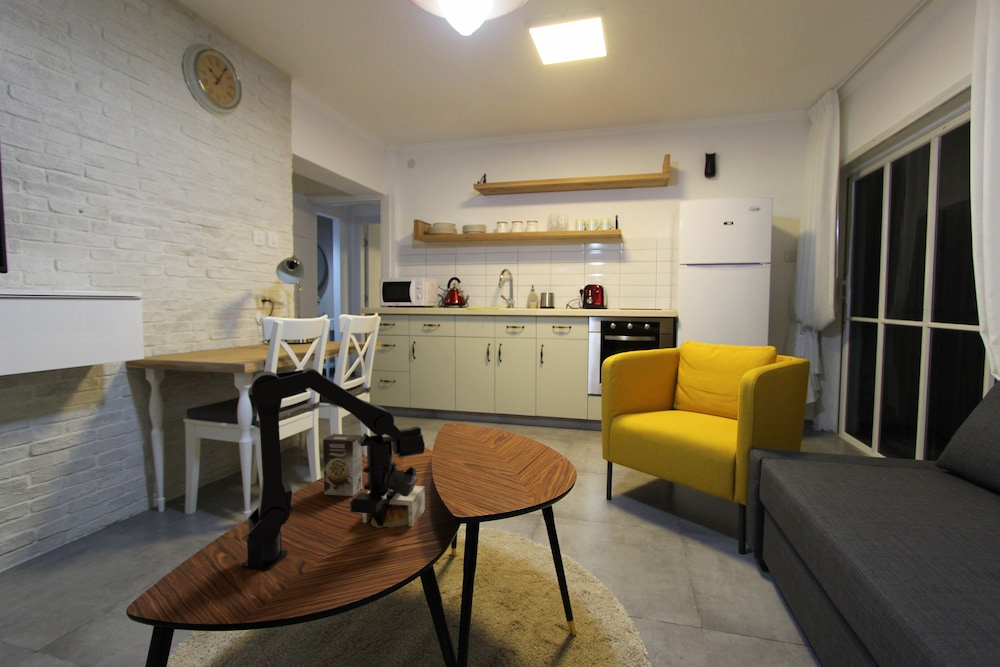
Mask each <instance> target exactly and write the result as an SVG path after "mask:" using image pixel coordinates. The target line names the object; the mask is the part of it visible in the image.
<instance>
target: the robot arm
mask: <svg viewBox="0 0 1000 667" xmlns="http://www.w3.org/2000/svg"><path fill="white" fill-rule="evenodd" d="M250 386H251V387H250V388H251V394H252V398H253V400H254V402H253V403H254V406H255V408H256V409H255V410H256V412H257V415H258V420H259V421H258V423H259V437H260V438H259V439H260V454H261V455H260V456H261V457H260V458H261V473H262V474H261V475H262V480H261V486H260V490H259V499H258V506H257V508H255V509H254V511H253V512H252V513H251V514H250V515H249V516H248V517H247V537H246V552H247V554H246V555H247V559H246V560H245V561H243V562H242V563H241V564H240V567H241V568H246V569H247V568H248V569H257V570H270V569H271V568H273V566H275V565H276V564H277V563H279V562H280V560H282V559H283V558H284V557H285V556H287V555H288V553H289V552H288V550H283V548H282V546H283V544H282V530H281V528H282V526H284V525H285V524H286V523H287V521H288V520H289V519H290V515H291V512H292V511H294V507H293V506H294V505H293V501H292V498H293V497H292V496H293V490H292V485H291V482H290V481H287V482H285V483H284V482H283V474H282V471H283V470H282V458H281V457H282V455H281V441H280V440H281V439H280V438H281V437H280V422H279V421H280V419H279V418H280V412H281V408H282V401H283V396H286V395H291V394H293V393H296V392H300V391H303V390H309V389H310V390H312V391H314V392H315V393H317V394H318V395H321V396H322V397H324V398H325V399H327V400H329V402H331V403H333V404H335V405H336V406H339V407H340V408H342V409H344V410H345V411H347V412H348V413H350V414H352V415H353V416H354V417H355V419H357V420H358V421H359V422H361V423H362V424H363V425H364V426H365V427H366V428H367V429H368V430H370V431H371V432H372V434H374V435H368V434H367V432H365V433H363V435H362V437H361V438H360V439H359V440H358V443H359V444H360V445H361V446H362V447H366V466H365V467H363V473H366V474H367V478H366V479H367V482H366V483H365V484H364V485H363V489H364V490H367V491H368V492H369V491H370V492H369V493H368V492H359V494H357V495H356V496H355V497H354V498H353V499H352V500H351V501H350V502H349V511H350V513H356V514H357V513H360V514H362V513H370V514H372V516H373V517H374V519H375V521H376V523H377V524H378V526H383V525H384V522H385V518H386V514H387V510H388V506H389V503H390V500H391V499H392V498H393V497H394V496H395V495H396V494H397V493H399V494H401V495H402V496H405V497H406V496H408V495H409V494H410V493H411V492H412V491H413V488H414V486H416V483H417V482H418V475H417V471H416V468H415V467H413V466H409V467H408V468H407V469H406V470H404V469H402V470H399V469H398V468H397V464H396V462H394V461H393V454H394V455H397V457H398V458H399V459H403V458H408V457H414V456H419V455H420V456H421V455H423V454H424V453H425V448H426V446H425V445H426V444H425V441H424V436H423V434H422V428H420V426H412V427H409V428H408V427H407V428H403V429H400V428H398V427H397V426H396V425H395V418H394V416H393V414H392V413H391V412H389V411H388V410H387V409H385V408H384V407H382V406H380V405H377V404H375V403H372V402H370V401H366V400H363V399H362V398H359V397H357V396H356V395H355V394H353V393H351V392H349V391H348V390H346V389H344V387H341V386H340V385H338V384H337V383H335V382H334V381H332V380H330V379H329V378H327V377H325V376H324V375H322V374H321V373H320V372H319V371H318V370H317V369H315V368H313V367H307V368H304V369H299V370H290V371H284V372H282V371H281V372H277V373H275V372H272V371H269V370H268V371H267V370H265V371H261V372H259V373H257V374H256V375H254V377H252V380H251V383H250ZM384 435H386V436H384ZM392 490H393V491H392ZM373 517H372V518H373Z"/></svg>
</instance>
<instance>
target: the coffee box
mask: <svg viewBox="0 0 1000 667" xmlns="http://www.w3.org/2000/svg"><path fill="white" fill-rule="evenodd" d="M362 436H363V435H362V434H343V433H332V434H331V435H328V436H326V437H325V438H323V440H322V448H323V449H322V450H323V451H322V452H323V453H322V454H323V456H322V457H323V489H324V490H323V493H324V495H329V496H330V495H332V496H343V497H345V496H347V497H354V496H355V495H356V494H357V493H358V492H359V491H361V490H362V489H363V463H362V461H363V455H362V454H363V452H362V450H363V446H361V445H360V444H359V443H358V440H359V439H360V438H361V437H362ZM360 489H361V490H360Z"/></svg>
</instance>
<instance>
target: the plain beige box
mask: <svg viewBox="0 0 1000 667" xmlns="http://www.w3.org/2000/svg"><path fill="white" fill-rule="evenodd" d="M392 491H393V490H392ZM425 491H426V490H425V485H415V486H414V488H413V491H412V492H411V493H410V494H409V495H408V496H406V497H405V496H402V495H401V494H399V493H397V494H396V495H395V496H394V497H393V498H392V499H391V500H390V503H389V506H388V509H389V508H390V507H395V506H402V505H407V506H408V517H409V524H408V527H414V525H415V524H416V523H417V521H418V520H419V519H420V517H421V516H422V515H423V513H424V512H425V511H426V496H425V495H426V494H425V493H426V492H425ZM369 492H370V490H368V492H367V493H369ZM424 510H425V511H424ZM361 514H362V523H363V524H365V523H366V524H367V523H368V522H369V521H370V520H372V518H373V516H372V514H370V513H361ZM421 514H422V515H421ZM418 518H419V519H418ZM417 519H418V520H417ZM415 522H416V523H415ZM414 523H415V524H414Z"/></svg>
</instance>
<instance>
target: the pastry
mask: <svg viewBox="0 0 1000 667" xmlns="http://www.w3.org/2000/svg"><path fill="white" fill-rule="evenodd" d="M370 520H371V522H370V524H371V526H373V527H374V528H377V529H378V528H379V529H380V528H383V527H388V529H391V528H396V527H395V526H397V527H401V526H400V525H403V526H405V525H404V524H407V525H409V524H408V523H409V517H408V506H407V505H402V506H395V507H390V508H389V509H388V510H387V514H386V518H385V522H384V525H383V526H378V524H377V523H376V521H375V519H374V517H372V518H371V519H370Z"/></svg>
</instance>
